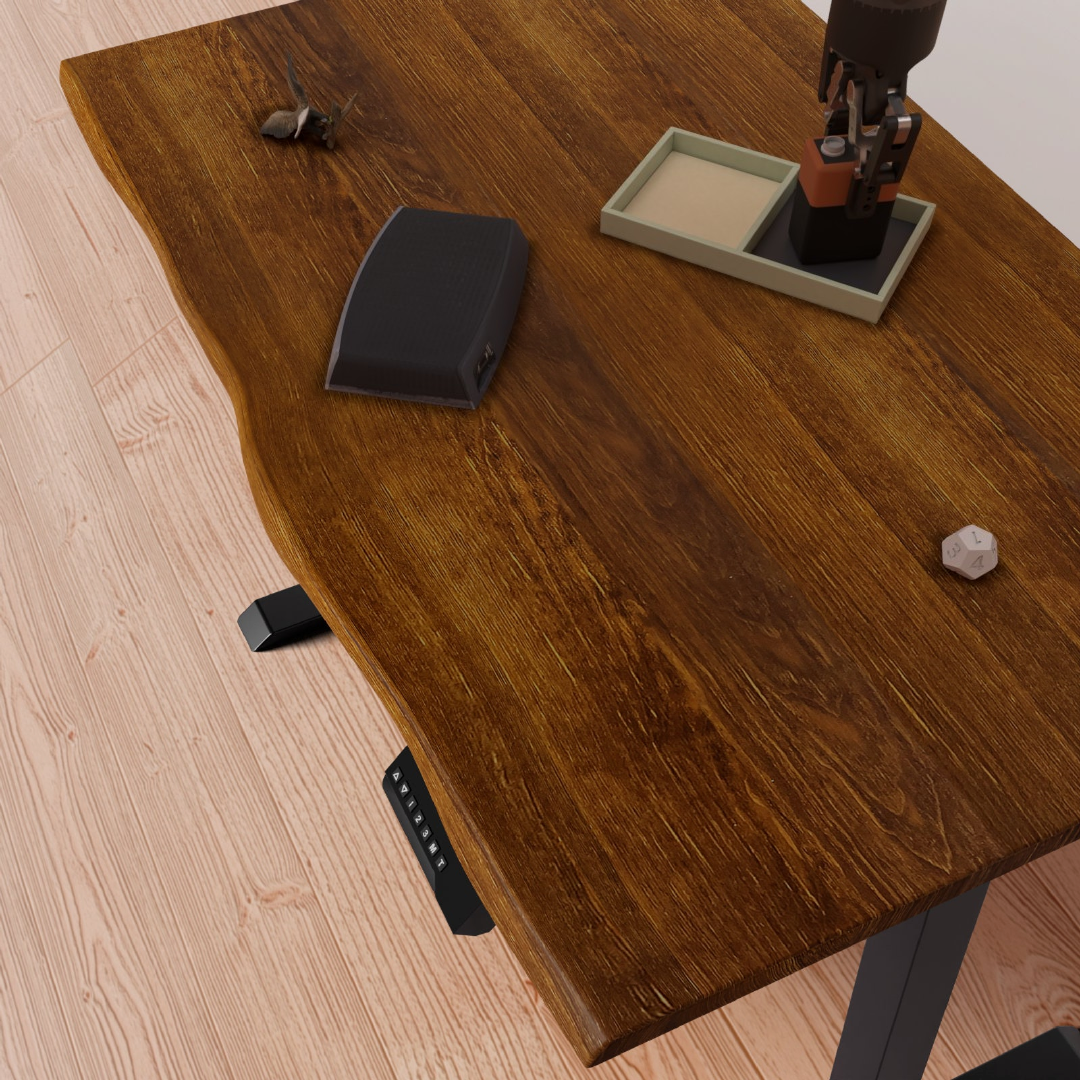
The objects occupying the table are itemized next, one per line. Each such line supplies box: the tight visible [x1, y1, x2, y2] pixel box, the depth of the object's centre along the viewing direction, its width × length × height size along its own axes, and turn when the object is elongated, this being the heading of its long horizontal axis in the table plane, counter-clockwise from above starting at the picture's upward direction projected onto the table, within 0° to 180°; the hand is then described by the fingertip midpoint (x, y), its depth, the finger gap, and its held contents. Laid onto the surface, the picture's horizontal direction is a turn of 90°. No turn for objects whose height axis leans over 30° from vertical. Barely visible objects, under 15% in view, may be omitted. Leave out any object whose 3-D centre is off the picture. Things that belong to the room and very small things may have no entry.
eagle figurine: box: [259, 50, 359, 150], centre depth 105 cm, size 8×7×9 cm
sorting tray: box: [599, 126, 937, 325], centre depth 96 cm, size 24×14×3 cm, turn 61°
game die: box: [941, 523, 999, 581], centre depth 75 cm, size 4×4×3 cm
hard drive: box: [324, 205, 530, 411], centre depth 90 cm, size 13×19×4 cm
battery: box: [788, 127, 901, 264], centre depth 91 cm, size 4×7×10 cm, turn 97°
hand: (845, 189), depth 91 cm, fingers open, 5 cm apart
